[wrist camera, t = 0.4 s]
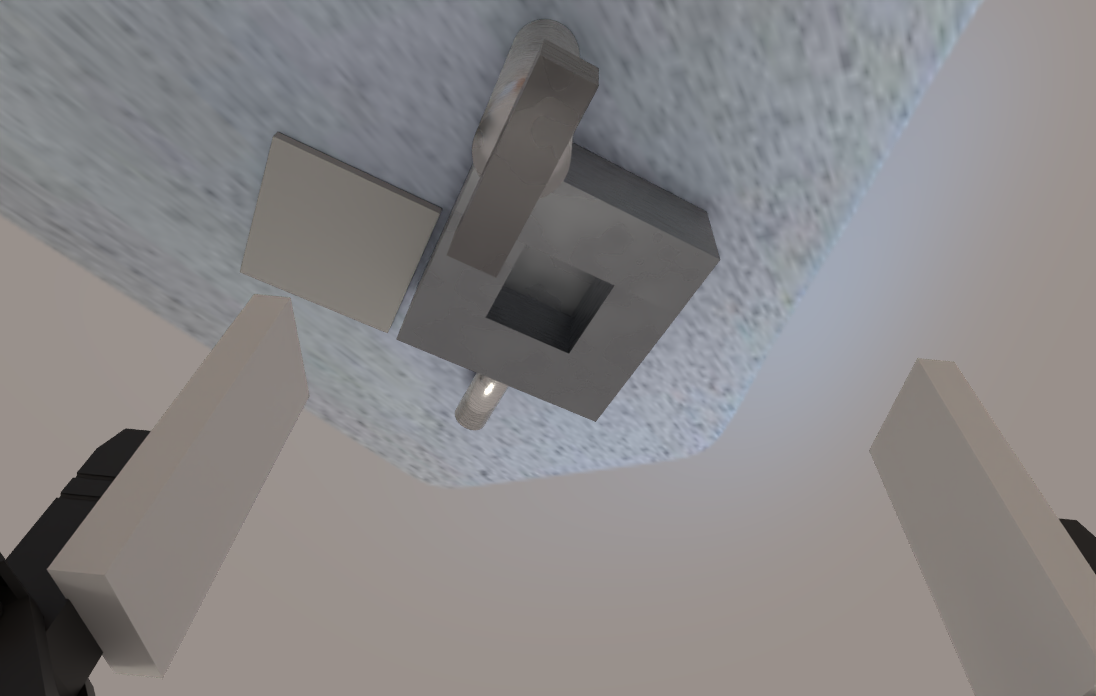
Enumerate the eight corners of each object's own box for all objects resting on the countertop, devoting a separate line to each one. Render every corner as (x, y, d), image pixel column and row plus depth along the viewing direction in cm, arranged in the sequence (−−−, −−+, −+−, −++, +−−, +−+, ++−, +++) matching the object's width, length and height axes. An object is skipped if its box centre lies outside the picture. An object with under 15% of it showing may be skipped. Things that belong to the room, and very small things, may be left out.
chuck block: (390, 347, 42) (368, 400, 38) (499, 104, 33) (485, 142, 29) (559, 416, 45) (555, 473, 41) (706, 211, 35) (720, 259, 31)
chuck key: (542, 138, 34) (515, 286, 23) (484, 108, 33) (426, 246, 22) (613, -1, 30) (620, 98, 19) (548, -38, 29) (516, 42, 18)
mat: (244, 266, 39) (239, 272, 39) (277, 131, 34) (273, 136, 34) (390, 327, 41) (387, 333, 41) (442, 208, 36) (440, 213, 36)
